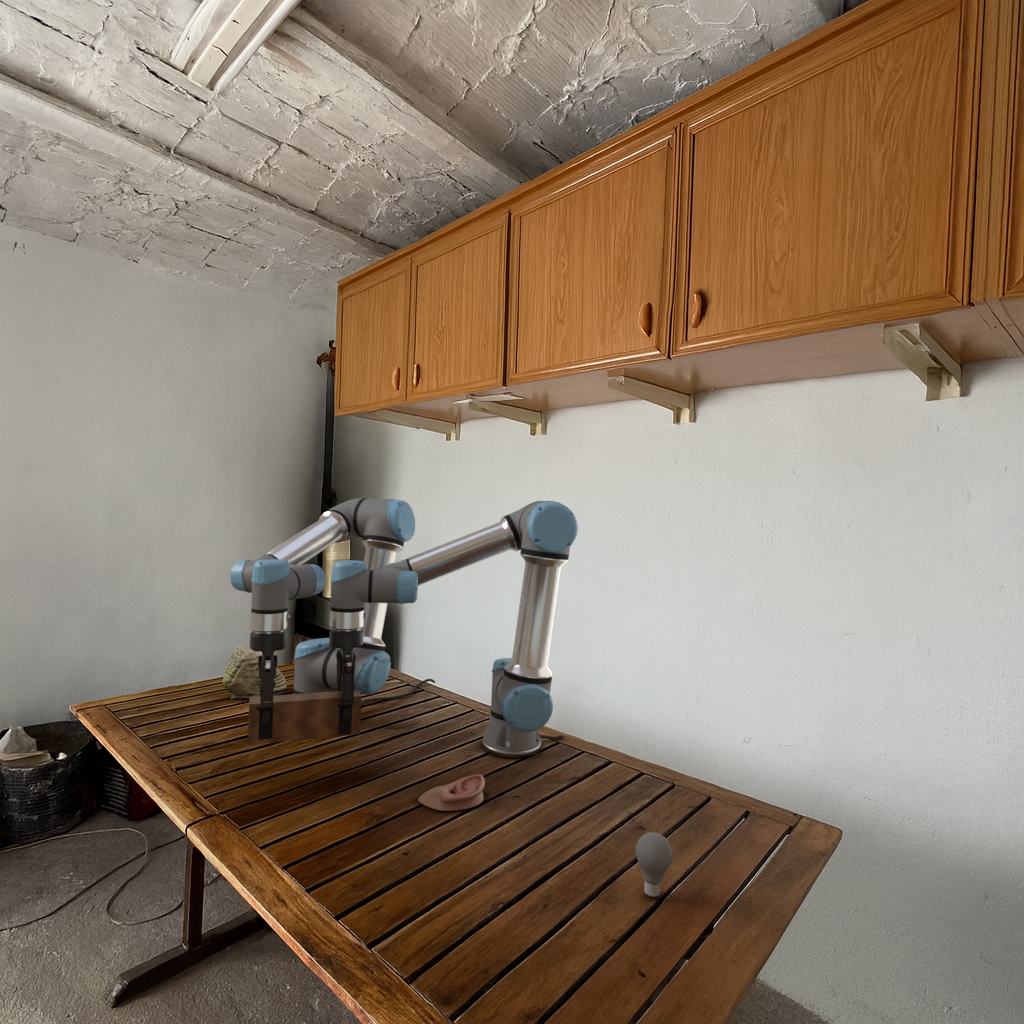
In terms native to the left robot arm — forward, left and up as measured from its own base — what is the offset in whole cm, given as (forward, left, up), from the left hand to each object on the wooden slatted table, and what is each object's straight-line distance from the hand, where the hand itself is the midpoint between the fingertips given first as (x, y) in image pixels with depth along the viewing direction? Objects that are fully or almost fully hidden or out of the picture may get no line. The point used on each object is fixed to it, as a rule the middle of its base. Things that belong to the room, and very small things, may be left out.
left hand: (265, 727), depth 139 cm
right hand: (-14, +8, -2) cm, 17 cm away
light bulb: (-22, +82, -12) cm, 86 cm away
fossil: (-30, -57, -12) cm, 66 cm away
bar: (-7, +4, -2) cm, 9 cm away
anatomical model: (-23, +35, -12) cm, 44 cm away
